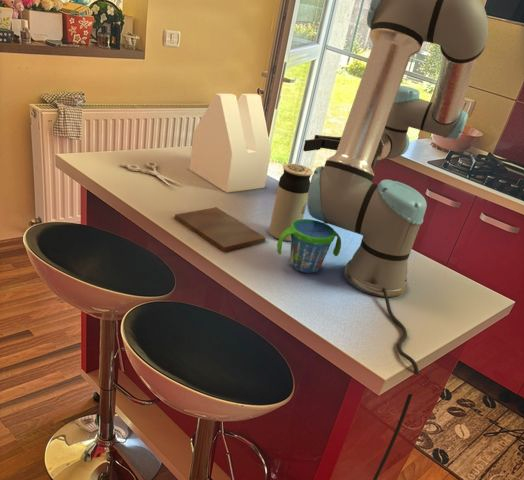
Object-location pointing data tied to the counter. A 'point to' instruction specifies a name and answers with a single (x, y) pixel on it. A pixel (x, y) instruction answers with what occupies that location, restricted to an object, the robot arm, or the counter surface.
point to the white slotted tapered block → (232, 143)
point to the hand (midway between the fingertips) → (324, 154)
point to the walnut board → (220, 228)
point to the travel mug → (290, 198)
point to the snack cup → (309, 244)
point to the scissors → (154, 172)
